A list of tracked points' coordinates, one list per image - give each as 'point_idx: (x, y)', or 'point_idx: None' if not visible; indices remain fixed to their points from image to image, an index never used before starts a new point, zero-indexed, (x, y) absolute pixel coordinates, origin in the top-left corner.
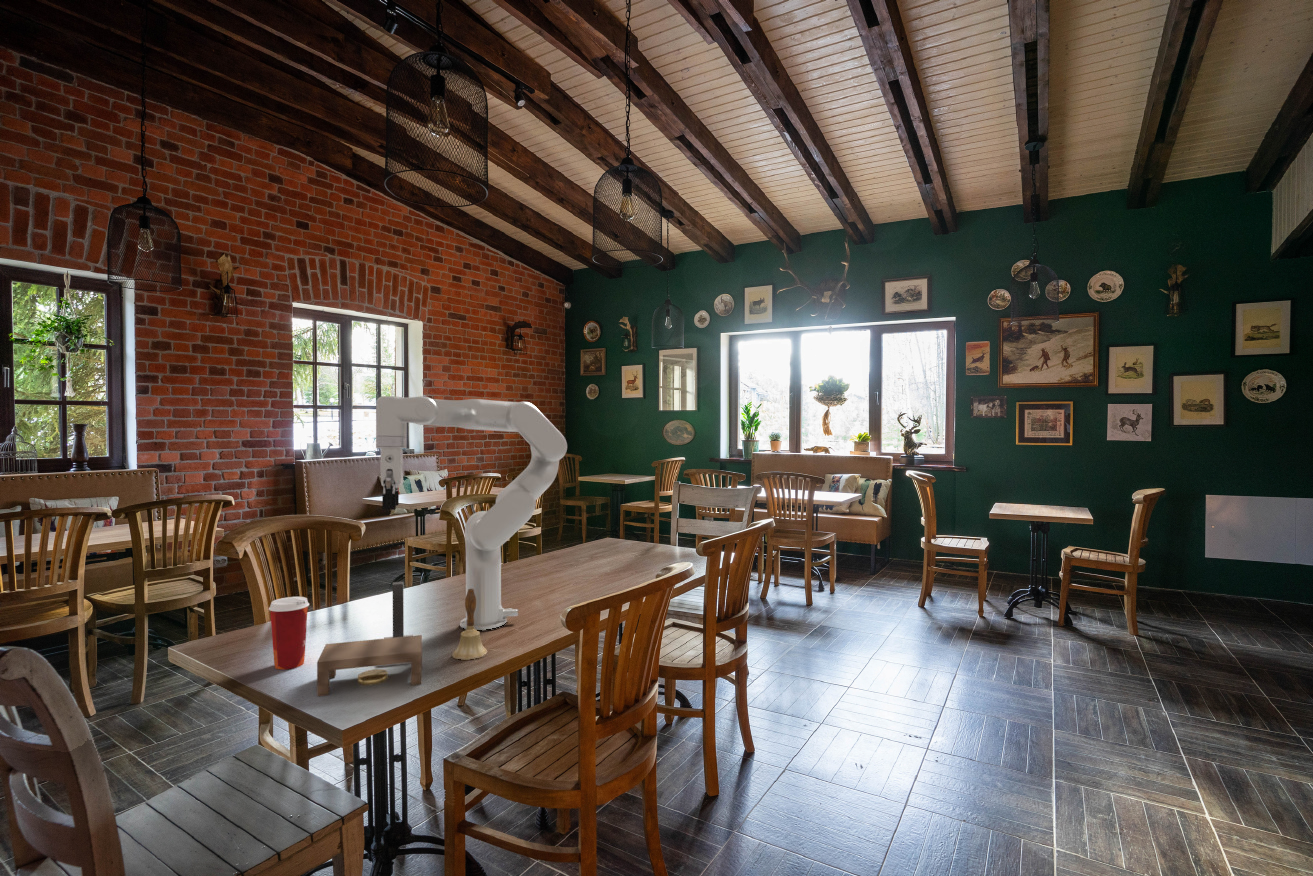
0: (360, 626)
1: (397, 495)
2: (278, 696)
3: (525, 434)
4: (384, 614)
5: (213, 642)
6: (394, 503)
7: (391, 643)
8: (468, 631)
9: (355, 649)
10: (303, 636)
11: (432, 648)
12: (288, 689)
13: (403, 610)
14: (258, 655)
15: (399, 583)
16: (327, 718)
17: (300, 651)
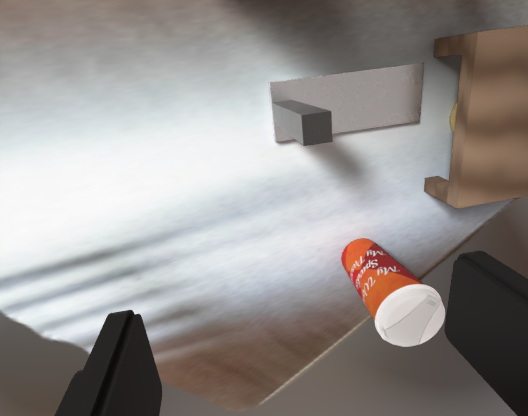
0: (160, 211)
1: (112, 406)
2: (475, 225)
3: None
4: (62, 184)
5: (224, 388)
6: (520, 286)
7: (505, 90)
8: None
9: (509, 150)
10: (390, 258)
11: (344, 28)
12: (456, 222)
13: (290, 106)
14: (301, 310)
15: (321, 123)
16: None
17: (382, 249)
